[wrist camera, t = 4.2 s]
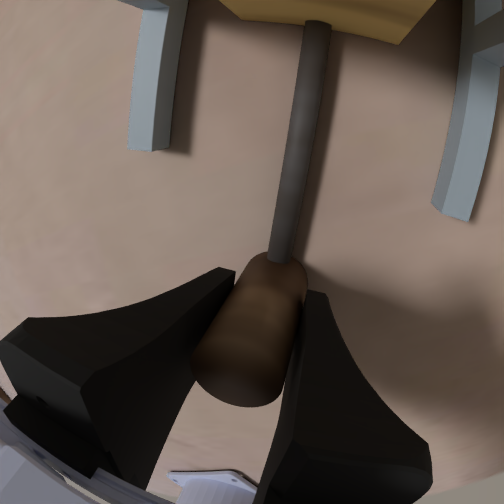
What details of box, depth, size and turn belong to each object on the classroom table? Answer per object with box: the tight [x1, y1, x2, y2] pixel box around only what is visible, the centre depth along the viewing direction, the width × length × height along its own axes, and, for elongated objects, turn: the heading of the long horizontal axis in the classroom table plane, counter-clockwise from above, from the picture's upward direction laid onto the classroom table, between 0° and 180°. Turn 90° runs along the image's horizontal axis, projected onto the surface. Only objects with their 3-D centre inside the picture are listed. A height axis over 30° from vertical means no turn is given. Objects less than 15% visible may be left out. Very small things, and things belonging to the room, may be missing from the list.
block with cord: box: [190, 0, 436, 407], centre depth 7 cm, size 15×5×5 cm, turn 172°
